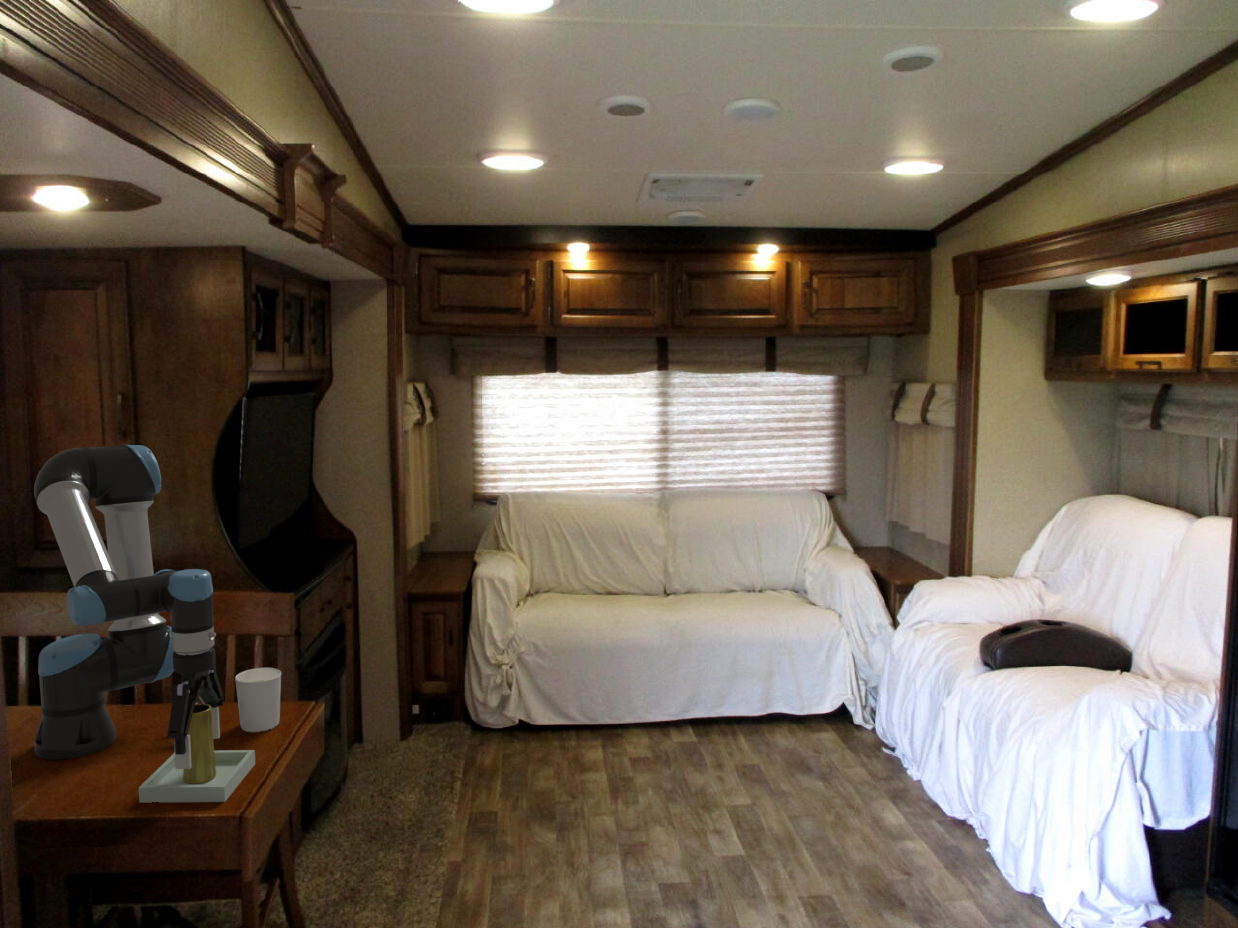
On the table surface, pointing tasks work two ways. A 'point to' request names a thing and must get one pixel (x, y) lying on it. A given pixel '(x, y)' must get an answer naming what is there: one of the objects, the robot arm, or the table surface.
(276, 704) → the candle holder
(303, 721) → the table surface
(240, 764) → the tray
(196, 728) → the vase
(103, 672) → the robot arm
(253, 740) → the table surface
